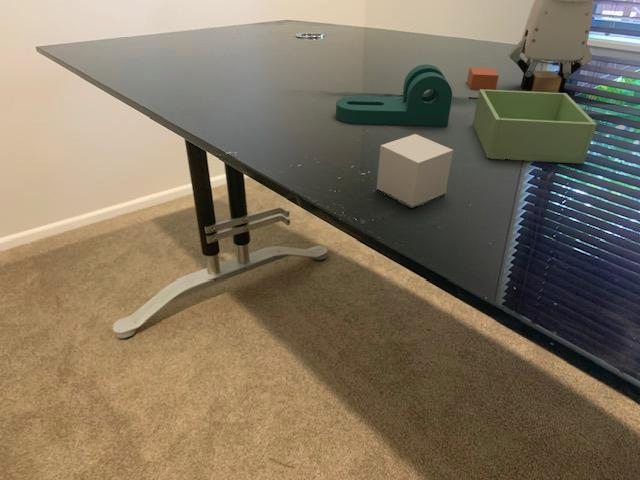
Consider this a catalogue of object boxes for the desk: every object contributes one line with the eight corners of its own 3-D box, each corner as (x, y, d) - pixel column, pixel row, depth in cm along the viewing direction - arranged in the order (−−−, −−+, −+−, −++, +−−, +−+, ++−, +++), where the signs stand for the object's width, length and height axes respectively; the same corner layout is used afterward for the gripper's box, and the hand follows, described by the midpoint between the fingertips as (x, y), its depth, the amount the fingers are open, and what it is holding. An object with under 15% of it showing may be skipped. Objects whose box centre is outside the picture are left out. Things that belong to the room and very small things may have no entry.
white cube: (445, 195, 62) (453, 150, 59) (411, 210, 59) (418, 163, 56) (409, 177, 66) (415, 133, 63) (376, 189, 63) (380, 145, 59)
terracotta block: (489, 92, 96) (494, 68, 94) (493, 100, 92) (498, 75, 90) (465, 91, 96) (469, 67, 94) (468, 98, 93) (473, 74, 90)
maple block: (547, 95, 95) (554, 71, 93) (554, 102, 92) (562, 78, 89) (523, 94, 96) (529, 69, 93) (529, 101, 92) (536, 76, 89)
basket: (555, 128, 81) (566, 93, 78) (583, 164, 70) (597, 124, 67) (472, 124, 82) (479, 89, 79) (487, 158, 71) (496, 119, 68)
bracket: (440, 111, 87) (447, 64, 82) (447, 126, 81) (455, 76, 77) (335, 108, 87) (337, 62, 83) (335, 123, 81) (337, 73, 77)
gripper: (612, -13, 86) (579, 93, 96) (511, -16, 87) (489, 89, 97) (630, -7, 80) (593, 106, 90) (521, -10, 81) (496, 101, 91)
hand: (539, 96), depth 94 cm, fingers closed on maple block, 4 cm apart
